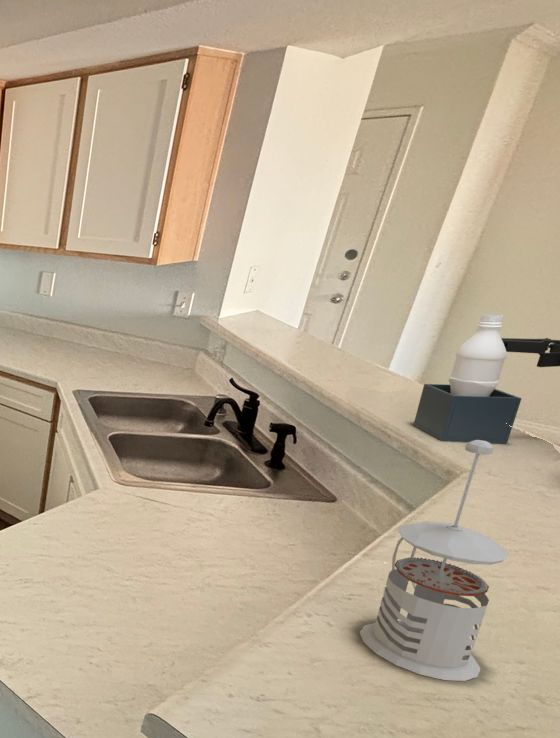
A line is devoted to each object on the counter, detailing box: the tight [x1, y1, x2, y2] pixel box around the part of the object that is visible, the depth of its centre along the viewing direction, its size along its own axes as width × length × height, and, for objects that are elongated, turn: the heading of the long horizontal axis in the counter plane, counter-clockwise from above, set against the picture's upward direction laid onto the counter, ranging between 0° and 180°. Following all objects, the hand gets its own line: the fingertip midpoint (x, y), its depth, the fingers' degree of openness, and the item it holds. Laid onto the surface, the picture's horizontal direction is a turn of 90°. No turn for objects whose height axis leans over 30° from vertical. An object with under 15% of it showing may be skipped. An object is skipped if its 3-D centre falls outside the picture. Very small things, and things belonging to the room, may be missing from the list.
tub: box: [412, 383, 522, 445], centre depth 126 cm, size 11×11×10 cm
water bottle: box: [448, 313, 507, 397], centre depth 123 cm, size 7×7×25 cm
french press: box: [359, 440, 509, 682], centre depth 63 cm, size 10×12×25 cm
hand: (502, 353), depth 122 cm, fingers open, 13 cm apart
